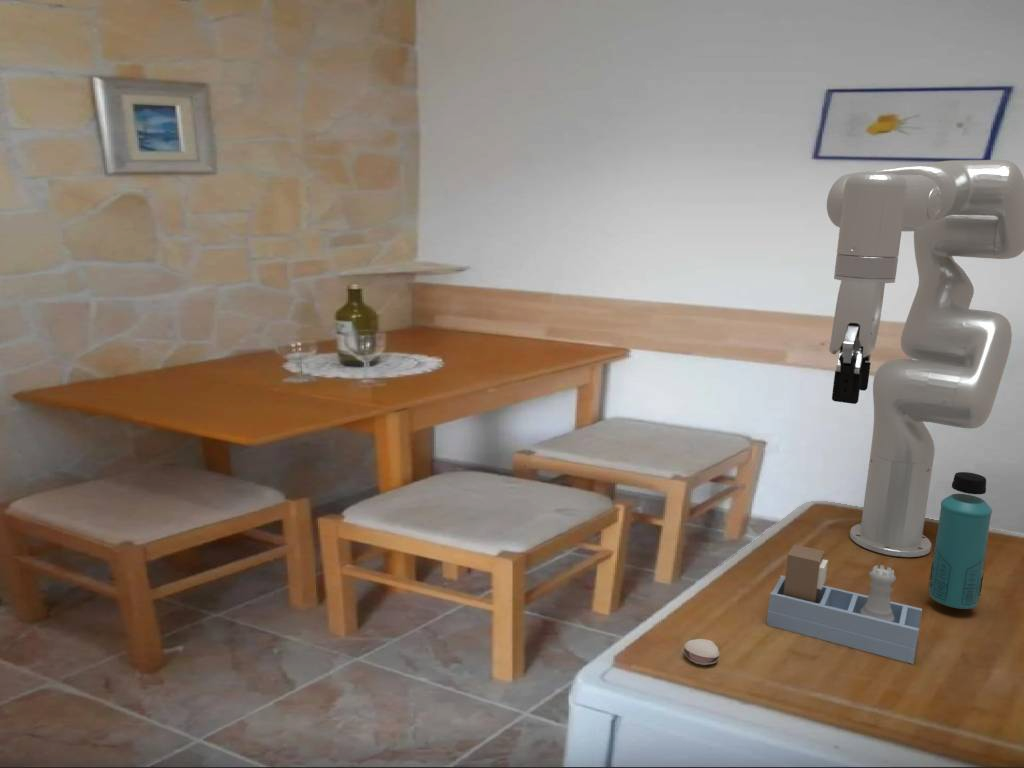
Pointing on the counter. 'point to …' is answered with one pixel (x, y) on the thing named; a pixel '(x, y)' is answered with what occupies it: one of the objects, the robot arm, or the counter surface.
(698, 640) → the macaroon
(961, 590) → the beverage bottle
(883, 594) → the rook chess piece
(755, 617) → the counter surface
